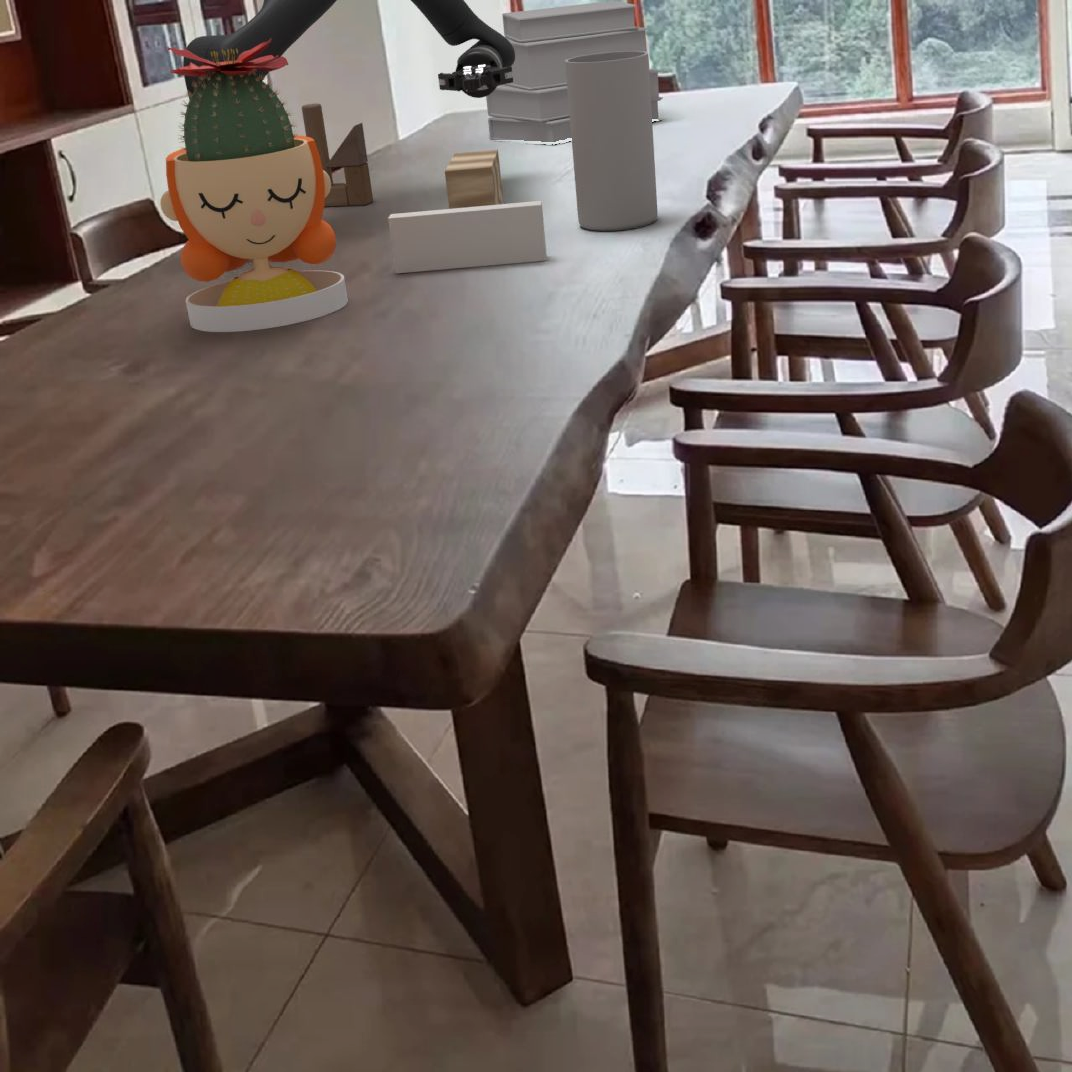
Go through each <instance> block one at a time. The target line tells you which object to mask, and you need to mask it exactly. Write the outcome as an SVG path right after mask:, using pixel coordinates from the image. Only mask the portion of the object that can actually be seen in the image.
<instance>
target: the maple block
mask: <svg viewBox="0 0 1072 1072" xmlns="http://www.w3.org/2000/svg"><path fill="white" fill-rule="evenodd" d="M499 156H500V155H499V150H498V149H490V150H480V151H468V152H459V153H457V152H456V153H454V154H453V156H452V158H451V160H450V161H449V163H448V165H447V167H446V168H445V170H444V175H445V176H444V177H445V184H446V191H447V192H446V193H447V200H448V202H447V203H448V209H454V208H466V207H477V206H488V205H499V204H505V203H504V195H503V185H502V174H501V166H500V157H499Z"/></svg>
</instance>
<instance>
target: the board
mask: <svg viewBox="0 0 1072 1072" xmlns="http://www.w3.org/2000/svg"><path fill="white" fill-rule="evenodd" d="M387 221H388V227H389V228H388V229H389V236H390V243H391V250H392V255H393V256H392V257H393V265H394V271H395V274H405V273H406V274H407V273H415V272H416V273H417V272H418V273H419V272H427V271H440V270H452V269H464V268H465V269H466V268H475V267H486V266H498V265H499V266H500V265H509V264H519V263H520V264H521V263H522V264H523V263H532V262H534V263H535V262H545V261H547V256H548V255H547V244H546V234H545V225H544V213H543V202H542V200H537V201H536V200H535V201H534V200H533V201H524V202H511V203H504V204H499V205H488V206H477V207H466V208H454V209H449V208H448V209H447V208H445V209H434V210H423V211H412V212H403V213H402V212H399V213H390V215H389V216H388V217H387Z"/></svg>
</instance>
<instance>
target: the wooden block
mask: <svg viewBox="0 0 1072 1072" xmlns="http://www.w3.org/2000/svg"><path fill="white" fill-rule="evenodd" d="M301 112H302V113H301V114H302V119H303V126H304V131H305V136H306V137H310V138H312V139H313V140H315V143H316V146H317V149H318V152H319V155H320V159H321V164H322V168H323V170H324V171H325V172H326V173H327V174H328V175H329V177H330V180H331V189H330V192H329V194H328V196H327V197H325V206H324V208H325V207H345V206H346V207H347V206H350V207H356V206H357V207H358V206H367V205H369V204H370V203H373V201H374V196H373V190H372V184H371V175H370V168H369V163H368V161H369V160H368V155H367V147H366V140H365V133H364V126H363V125H364V124H363V122H360V123H358V124H355V125H354V126H353V127H352V128H351V130H350V131H349V133H348V134H347V135H346V137H344V139H343V141H342V142H341V143H340V145H339V147H337V150H336V151H335V152H334V153H333V155H332V156H331V158H330V154H329V146H328V141H327V134H326V127H325V121H324V115H323V114H324V113H323V107H322V105H321V103H318V102H317V103H307V104H304V105H302V106H301ZM336 167H337V168H339V167H343V171H344V172H343V173H344V178H345V183H344V182H339V183H337V182H336V183H334V180H333V173H332V168H336Z"/></svg>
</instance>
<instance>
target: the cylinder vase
mask: <svg viewBox="0 0 1072 1072" xmlns="http://www.w3.org/2000/svg"><path fill="white" fill-rule="evenodd" d="M649 61H650V59H649V52H648V51H646V52H644V51H621V52H608V53H598V54H591V55H584V56H578V57H574V58H570V59H567V60H565V66H566V78H567V90H568V102H569V114H570V126H571V138H572V142H571V147H572V148H571V149H572V159H573V160H572V161H573V173H574V185H575V197H576V198H575V199H576V206H577V207H576V211H577V221H578V224H579V225H580V226H581V228H583V229H586V230H590V231H597V232H615V231H626V230H632V229H636V228H642V227H644V226H647V225H650V224H652V223H653V222H654V221H656V220H657V218H658V215H659V213H658V199H657V180H656V164H655V150H654V149H655V144H654V131H653V130H654V129H653V123H652V109H651V92H650V75H649V69H650V62H649Z"/></svg>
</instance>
